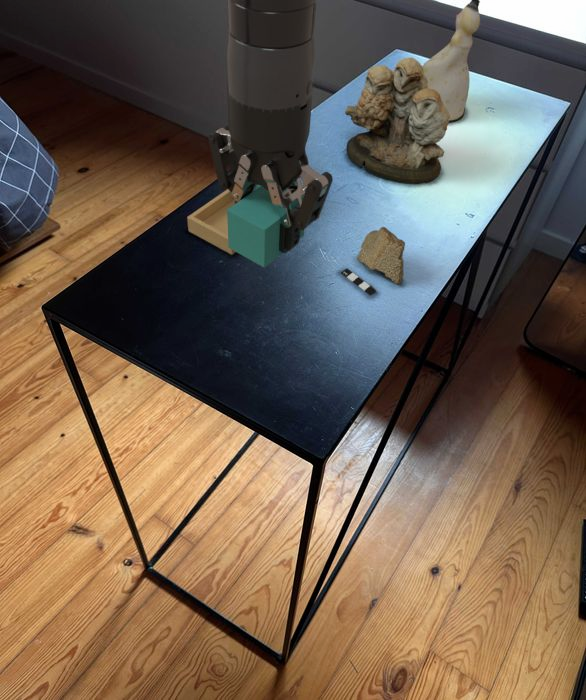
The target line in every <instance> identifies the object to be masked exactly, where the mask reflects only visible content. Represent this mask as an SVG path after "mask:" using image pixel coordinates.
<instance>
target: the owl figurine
mask: <svg viewBox="0 0 586 700" xmlns="http://www.w3.org/2000/svg"><path fill="white" fill-rule="evenodd" d="M364 83H365V84H364V86H363V89H362V90H361V91H360V97H359V98H358V99H357V102H356V104H355V105H347V106H346V108H345V112H344V114H345V115H346V116H349V117H350V120H351V122H352V123H353V125H355V126H358V127H361V128H363V129H366V130H367V131H364V132H360V133H357V134H355V135H354V136H352V137H351V138H349V139H348V140H347V143H346V146H345V147H346V155H347V156H348V159H349V160H350V161H351V162H352V163H353V164H354V165H357V167H358V168H360V169H362V168H363V169H364V171H365V172H366V173H367V174H371V175H373V176H375V177H378V178H381V179H384V180H387V181H390V182H391V181H392V182H397V183H400V184H408V185H409V184H410V185H411V184H415V185H416V184H417V185H418V184H422V183H423V182H425V183H429V182H430V183H431V182H432V181H434V180H435V179H437V178H438V177H439V175H440V174H441V170H442V164H441V162H440V159H439V158H443V157H444V155H445V151H444V149H443V148H442V147H441V146H440V145H439V144H438V143H439V142H440V141H441V140H443V138H444V137H445V136H446V132H447V131H448V125H449V124H450V123H449V121H448V119H449V118H450V114H449V112H448V110H447V109H446V108H444V104H443V102H442V100H441V97H440V94H439V93H438V92H437V91H436V90H433V89H429V88H428V85H427V83H428V81H427V78H426V77H425V76H424V70H423V65H422V64H421V62H420V61H418V60H417V59H416V58H414V57H412V56H411V57H404V58H402V59H400V60H399V61H398V62H397V63H396V65H395V67H394V69H393V70H392V69H391V68H389V67H388V66H387V65H384V64H380V65H379V64H377V65H374V66H371V67H370V68H369V70H368V72H367V74H366V76H365V80H364ZM364 164H365V166H364Z"/></svg>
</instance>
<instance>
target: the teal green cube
mask: <svg viewBox="0 0 586 700" xmlns="http://www.w3.org/2000/svg"><path fill="white" fill-rule="evenodd" d="M286 190H287V188H286V189H285V190H283V191H282V193H284V192H285V191H286ZM303 197H304V195H303V196H301V199H302V200H303ZM289 208H290V211H291V210H292V208H291V204H290V205H289ZM227 223H228V247H229V248H230V249H232V250H234V251H235V253H237V254H239V255H241V256H242V257H244V258H246V259H248V260H249V261H251V262H253V263H255V264H257V265H259V266H260V267H262V268H264V269H265V268H266V267H268V265H270V264H271V263H272V262H274V260H277V258H278V257H280V256H281V255H282V254H284V253H283V252H281V251H279V233H280V224H281V220H280V216H279V212H278V208H277V207H275V206H273V204H272V200H271V197H270V193H269V191H268V190H266V189H265V188H264V187H263V186H260V187H259V188H258V189H256V190H255V191H253V192H252V193H250V194H249V195H247V196H246V197H245V198H243V199H242V200H240V201H239V202H237V203H236V204H234V205H233V206H232V207H230V208H229V209H227ZM304 236H305V229H304V230H300V239H302V238H303V237H304Z"/></svg>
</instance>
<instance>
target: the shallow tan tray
mask: <svg viewBox="0 0 586 700" xmlns="http://www.w3.org/2000/svg"><path fill="white" fill-rule="evenodd" d="M301 185H302V189H303V184H301ZM301 196H303V197H304V194H303V193H302V195H301ZM234 204H235V200H234V199H233V198H232V193H231V192H230V191H229V190H228V189H226V190H223V191H222V192H221V193H220V194H218V195H217V196H215V197H214V198H213V199H211V200H210V201H209V202H207V203H206V204H204V205H203V206H201V207H200V208H198V209H197V210H195V211H194V212H193V213H191V214H189V215H188V216H187V217H186V218H187V228H188V229H187V230H188V232H189V233H191V234H193V235H194V236H196V237H199V239H202V240H204V241H205V242H207V243H209V244H211V245H213V246H215V247H217V248H218V249H220V250H222V251H223V252H226V253H228V254H230V255H231V256H232V255H234V254H235V253H236V252H235V251H234V250H232V249H230V248H229V247H228V223H227V209H229V208H230V207H232V206H233V205H234Z"/></svg>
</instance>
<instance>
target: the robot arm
mask: <svg viewBox="0 0 586 700" xmlns="http://www.w3.org/2000/svg"><path fill="white" fill-rule="evenodd" d="M316 9H317V0H227V28H228V32H227V34H228V36H227V45H226V46H227V47H226V90H227V93H226V95H227V120H228V121H227V122H228V123H227V124H226V125H224V126H222V127H220V128H219V129H217V130H215V131H214V132H212V133H210V134H209V135H208V136H207V140H208V144H209V148H210V152H211V157H212V161H213V165H214V171H215V173H216V179H217V182H218V186H219V188H221V190H223V191H226V190H227V189H228V190H229V191H230V192H231V193H232V198H233V199H234V200H235V204H236V203H237V202H239V201H240V200H242V199H243V198H245V197H246V196H247V195H249V194H250V193H252V192H253V191H255V189H256V186H257V185H261V186H263V187H264V188H265V189H266V190H268V191H269V193H270V197H271V200H272V204H273V206H275V207H277V208H278V212H279V216H280V220H281V224H280V233H279V251H281V252H283V253H282V254H287V253H288V252H290V251H291V250H293V249H294V248H295V247H297V246H298V245H299V243H300V240H301V238H300V230H304V231H305V229H306V228H308V226H310V225H311V224H312V223H313V222H316V220H318V219H319V218H320V216H321V213H322V210H323V207H324V206H325V202H326V200H327V197H328V195H329V193H330V189H331V187H332V184H333V181H334V178H333V176H332V174H331V173H330V172H329V171H324V172H322V173H319V172H318V171H316V170H315V169H313V168H312V167H311V166H310V165H309V159H308V156H307V152H306V151H307V150H306V146H307V143H308V139H309V136H310V131H311V120H312V119H311V118H312V117H311V116H312V105H313V92H314V91H313V90H314V89H313V88H314V76H315V62H316V61H315V60H316V56H315V53H316V52H315V22H316ZM227 168H229V169H227ZM228 170H229V173H228ZM302 185H303V189H302ZM286 188H288V189H287V190H286V191H285V192H284V193H282V191H283V190H285V189H286ZM302 193H303V200H302V199H301V195H302ZM290 204H291V208H292V210H291V211H290V208H289V205H290Z"/></svg>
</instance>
